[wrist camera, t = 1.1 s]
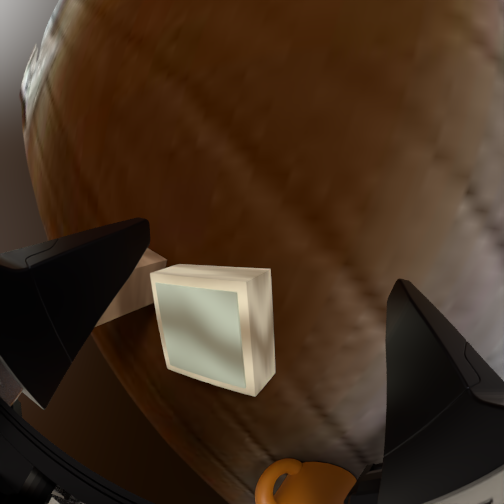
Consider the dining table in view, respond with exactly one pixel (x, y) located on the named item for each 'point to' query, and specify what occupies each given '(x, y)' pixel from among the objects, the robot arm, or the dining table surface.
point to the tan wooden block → (135, 288)
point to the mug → (304, 483)
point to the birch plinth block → (217, 324)
